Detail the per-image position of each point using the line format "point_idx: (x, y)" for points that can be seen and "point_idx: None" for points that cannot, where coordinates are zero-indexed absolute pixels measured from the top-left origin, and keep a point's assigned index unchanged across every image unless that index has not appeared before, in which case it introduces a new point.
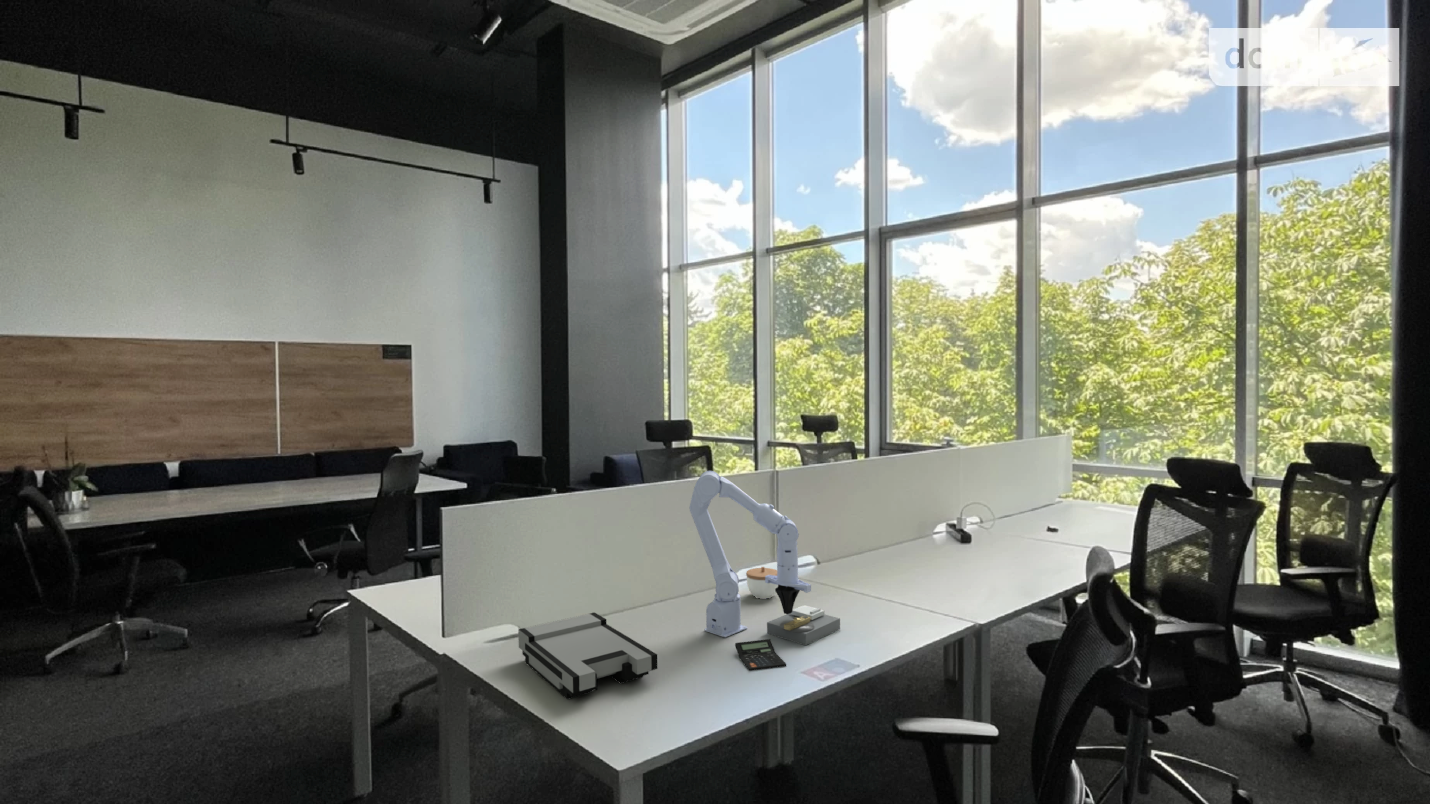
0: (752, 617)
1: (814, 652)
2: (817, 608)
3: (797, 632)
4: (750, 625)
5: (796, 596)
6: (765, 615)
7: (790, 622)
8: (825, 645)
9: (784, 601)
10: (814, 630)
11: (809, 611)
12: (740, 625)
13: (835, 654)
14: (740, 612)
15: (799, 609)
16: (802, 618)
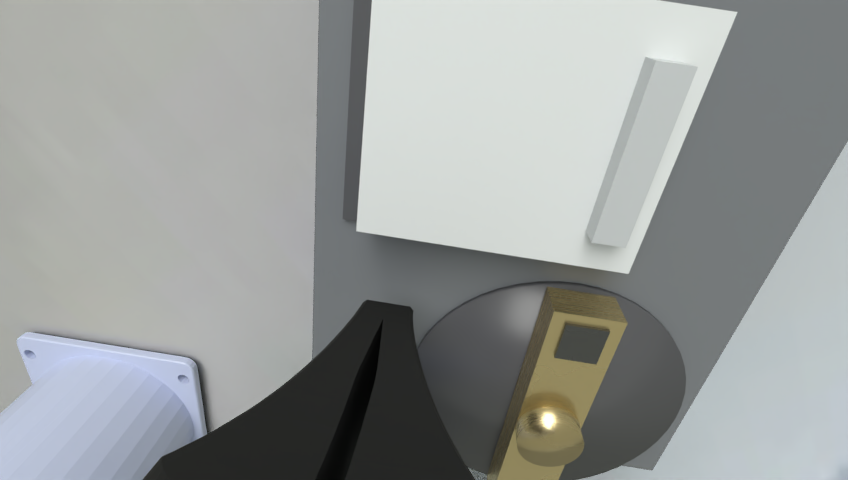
0: (31, 162)
1: (705, 457)
2: (651, 85)
3: (588, 470)
4: (159, 300)
5: (450, 443)
6: (49, 56)
7: (513, 469)
8: (751, 361)
9: (347, 469)
10: (693, 395)
11: (555, 168)
12: (167, 406)
13: (837, 437)
14: (107, 475)
15: (418, 166)
16: (567, 372)
